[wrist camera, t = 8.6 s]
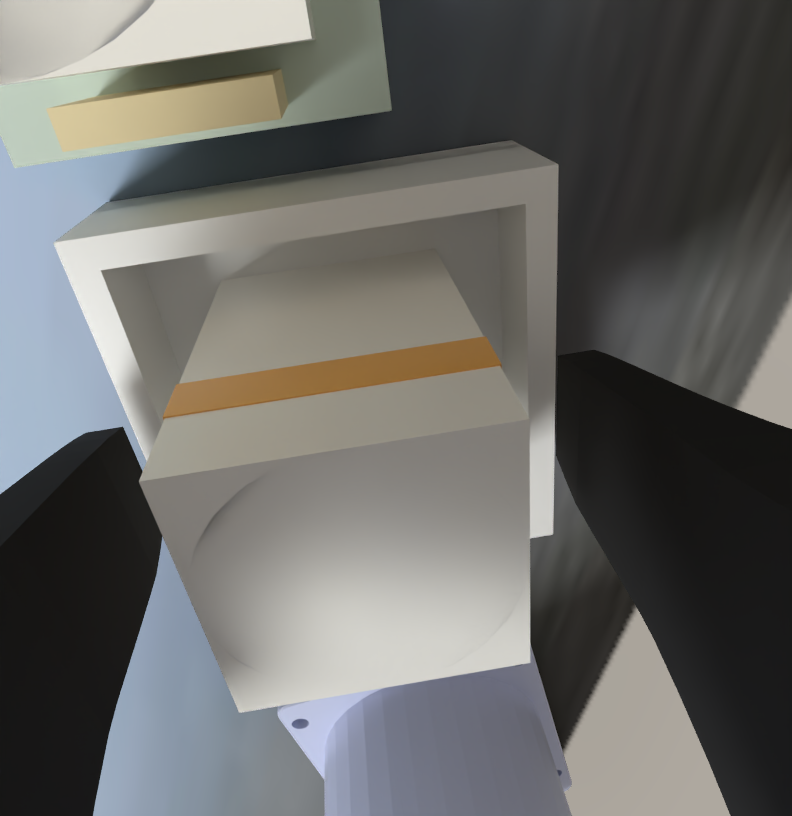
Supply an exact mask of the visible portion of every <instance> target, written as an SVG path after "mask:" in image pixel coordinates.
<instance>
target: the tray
mask: <svg viewBox="0 0 792 816" xmlns="http://www.w3.org/2000/svg"><path fill="white" fill-rule="evenodd" d="M558 168H559V164H557V163H555V162H553V161H551V160H549V159H547V158H545V157H543V156H541V155H540V154H538V153H536V152H534V151H532V150H530V149H528V148H526V147H524V146H522V145H520V144H518V143H516V142H514V141H513V140H508V141H502V142H495V143H489V144H482V145H476V146H469V147H463V148H456V149H450V150H443V151H437V152H430V153H424V154H417V155H411V156H404V157H398V158H391V159H385V160H378V161H372V162H365V163H359V164H352V165H346V166H339V167H333V168H326V169H320V170H313V171H307V172H300V173H294V174H287V175H281V176H274V177H268V178H261V179H255V180H248V181H242V182H235V183H229V184H222V185H216V186H209V187H203V188H196V189H190V190H183V191H177V192H170V193H164V194H157V195H151V196H144V197H137V198H131V199H124V200H118V201H111V202H106V203H105V204H104V205H102V206H101V207H100V208H98V209H97V210H96V211H94V212H93V213H92V214H90V215H89V216H88V217H87V218H85V219H84V220H83V221H81V222H80V223H79V224H77V225H76V226H75V227H73V228H72V229H71V230H69V231H68V232H67V233H65V234H64V235H63V236H61V237H60V238H59V239H57V240H56V241H55V242H54V246H55V248H56V250H57V253H58V255H59V257H60V260H61V262H62V264H63V267H64V269H65V271H66V274H67V276H68V278H69V281H70V283H71V285H72V288H73V290H74V292H75V295H76V297H77V299H78V302H79V304H80V306H81V309H82V311H83V313H84V316H85V318H86V321H87V323H88V325H89V328H90V330H91V332H92V335H93V337H94V339H95V342H96V344H97V346H98V349H99V351H100V353H101V356H102V358H103V360H104V363H105V365H106V367H107V370H108V372H109V374H110V377H111V379H112V381H113V384H114V386H115V388H116V391H117V393H118V395H119V398H120V400H121V402H122V405H123V407H124V409H125V412H126V414H127V416H128V419H129V421H130V424H131V426H132V428H133V431H134V433H135V435H136V438H137V440H138V442H139V445H140V447H141V449H142V452H143V454H144V456H145V459H146V461H147V460H148V458H149V455H150V453H151V450H152V448H153V446H154V443H155V441H156V438H157V436H158V433H159V431H160V429H161V426H162V424H163V421H164V420H163V415H164V412H165V410H166V407H167V405H168V403H169V400H170V398H171V396H172V393H173V391H174V388H175V386H176V384H179V382H180V380H181V377H182V375H183V373H184V370H185V368H186V365H187V363H188V360H189V358H190V356H191V353H192V351H193V348H194V346H195V343H196V341H197V338H198V336H199V334H200V331H201V329H202V326H203V324H204V321H205V319H206V317H207V314H208V312H209V309H210V307H211V304H212V302H213V300H214V297H215V295H216V292H217V290H218V287H219V285H220V283H221V281H223V280H229V279H236V278H242V277H249V276H256V275H262V274H269V273H276V272H282V271H289V270H296V269H302V268H309V267H315V266H322V265H329V264H335V263H342V262H349V261H355V260H362V259H369V258H375V257H382V256H389V255H395V254H402V253H408V252H415V251H422V250H428V249H436V251H437V253H438V255H439V257H440V258H441V260H442V262H443V264H444V266H445V267H446V269H447V271H448V273H449V275H450V276H451V278H452V280H453V282H454V284H455V285H456V287H457V289H458V291H459V293H460V295H461V296H462V298H463V300H464V302H465V304H466V305H467V307H468V309H469V311H470V313H471V314H472V316H473V318H474V320H475V322H476V323H477V325H478V327H479V329H480V331H481V332H482V334H483V336H486V337H487V339H488V341H489V343H490V344H491V346H492V348H493V350H494V351H495V353H496V355H497V357H498V359H499V360H500V362H501V364H502V370H503V372H504V374H505V376H506V378H507V379H508V381H509V383H510V385H511V387H512V388H513V390H514V392H515V394H516V396H517V397H518V399H519V401H520V403H521V405H522V406H523V408H524V410H525V412H526V414H527V415H528V417H529V419H530V538H535V537H541V536H547V535H553V507H554V439H555V371H556V303H557V236H558Z"/></svg>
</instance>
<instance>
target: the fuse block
mask: <svg viewBox="0 0 792 816" xmlns="http://www.w3.org/2000/svg"><path fill="white" fill-rule="evenodd" d="M310 5H311V11H312V17H313V23H314V29H315V35H316V40H312V41H305V42H298V43H291V44H285V45H278V46H271V47H264V48H258V49H251V50H244V51H237V52H231V53H224V54H217V55H210V56H204V57H197V58H190V59H183V60H177V61H170V62H163V63H156V64H150V65H143V66H136V67H129V68H123V69H116V70H109V71H102V72H96V73H89V74H82V75H75V76H69V77H62V78H55V79H48V80H41V81H34V82H27V83H20V84H13V85H6V86H0V136H1V138H2V140H3V142H4V145H5V147H6V149H7V152H8V154H9V156H10V159H11V161H12V163H13V166H14V168H17V167H24V166H31V165H37V164H44V163H50V162H57V161H64V160H70V159H77V158H83V157H90V156H97V155H103V154H110V153H116V152H123V151H130V150H136V149H143V148H149V147H156V146H163V145H169V144H176V143H182V142H189V141H195V140H202V139H209V138H215V137H222V136H228V135H235V134H242V133H248V132H255V131H261V130H268V129H275V128H281V127H288V126H294V125H301V124H308V123H314V122H321V121H327V120H334V119H341V118H347V117H354V116H360V115H367V114H374V113H380V112H387V111H392V107H391V99H390V90H389V82H388V73H387V65H386V56H385V47H384V39H383V30H382V22H381V13H380V5H379V0H310Z"/></svg>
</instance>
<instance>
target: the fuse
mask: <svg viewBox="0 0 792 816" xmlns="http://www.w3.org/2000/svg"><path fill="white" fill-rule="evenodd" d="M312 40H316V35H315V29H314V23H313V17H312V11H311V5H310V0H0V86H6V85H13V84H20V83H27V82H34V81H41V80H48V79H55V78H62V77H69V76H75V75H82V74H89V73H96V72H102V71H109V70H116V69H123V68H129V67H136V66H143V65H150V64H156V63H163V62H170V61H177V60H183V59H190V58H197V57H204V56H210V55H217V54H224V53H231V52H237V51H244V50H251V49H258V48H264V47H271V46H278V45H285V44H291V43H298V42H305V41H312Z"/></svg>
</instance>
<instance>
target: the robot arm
mask: <svg viewBox="0 0 792 816" xmlns="http://www.w3.org/2000/svg"><path fill="white" fill-rule="evenodd" d="M556 456H557V459H558V461H559V464H560V467H561V469H562V472H563V474H564V477H565V479H566V482H567V484H568V486H569V489H570V491H571V493H572V496H573V498H574V500H575V503H576V505H577V507H578V508H579V510H580V512H581V514H582V515H583V517H584V519H585V521H586V522H587V524H588V526H589V527H590V529H591V531H592V533H593V534H594V536H595V538H596V539H597V541H598V543H599V545H600V546H601V548H602V550H603V551H604V553H605V555H606V556H607V558H608V560H609V561H610V563H611V565H612V566H613V568H614V570H615V571H616V573H617V575H618V577H619V578H620V580H621V582H622V583H623V585H624V587H625V588H626V590H627V592H628V593H629V595H630V597H631V598H632V600H633V602H634V603H635V605H636V607H637V609H638V610H639V612H640V614H641V615H642V617H643V619H644V621H645V623H646V625H647V627H648V629H649V630H650V632H651V634H652V636H653V638H654V640H655V642H656V644H657V647H658V649H659V651H660V653H661V655H662V658H663V660H664V662H665V664H666V666H667V668H668V671H669V673H670V675H671V677H672V679H673V682H674V683H675V686H676V688H677V690H678V692H679V694H680V697H681V699H682V701H683V704H684V706H685V708H686V711H687V713H688V715H689V717H690V720H691V722H692V724H693V726H694V729H695V731H696V734H697V736H698V738H699V741H700V743H701V745H702V747H703V750H704V752H705V754H706V757H707V759H708V761H709V764H710V766H711V769H712V771H713V773H714V776H715V778H716V781H717V783H718V786H719V788H720V791H721V793H722V795H723V798H724V800H725V803H726V805H727V808H728V810H729V813H730V815H731V816H792V429H790V428H786V427H784V426H781V425H777V424H775V423H772V422H769V421H766V420H764V419H761V418H758V417H756V416H753V415H750V414H748V413H745V412H742V411H740V410H737V409H734V408H732V407H729V406H726V405H724V404H722V403H719V402H717V401H714V400H712V399H709V398H707V397H704V396H702V395H700V394H697V393H695V392H692V391H690V390H688V389H686V388H683V387H681V386H679V385H676V384H674V383H672V382H670V381H667V380H665V379H663V378H661V377H658V376H656V375H654V374H652V373H649V372H647V371H645V370H643V369H640V368H638V367H636V366H634V365H631V364H629V363H627V362H625V361H622V360H620V359H618V358H615V357H613V356H610V355H608V354H605V353H602V352H599V351H596V350H591V351H584V352H578V353H572V354H566V355H560V356H558V376H557V436H556ZM141 475H142V469H141V467H140V465H139V462H138V460H137V458H136V456H135V453H134V451H133V449H132V446H131V444H130V442H129V440H128V437H127V435H126V433H125V430H124V428H123V427H119V428H113V429H107V430H101V431H94V432H88V433H85V434H83V435H81V436H80V437H78V438H76V439H74V440H73V441H71V442H70V443H68V444H67V445H66V446H64V447H63V448H61V449H60V450H58V451H57V452H56V453H54V454H53V455H52V456H50V457H49V458H47V459H46V460H45V461H44V462H42V463H41V464H40V465H38V466H37V467H36V468H34V469H33V470H32V471H30V472H29V473H28V474H26V475H25V476H24V477H22V478H21V479H20V480H19V481H17V482H16V483H15V484H13V485H12V486H11V487H9V488H8V489H7V490H5V491H4V492H3V493H2V494H0V816H93V811H94V805H95V800H96V795H97V790H98V785H99V780H100V775H101V770H102V765H103V760H104V755H105V750H106V745H107V740H108V735H109V731H110V727H111V723H112V720H113V716H114V712H115V708H116V704H117V701H118V698H119V695H120V691H121V688H122V685H123V682H124V679H125V675H126V672H127V669H128V666H129V663H130V659H131V656H132V653H133V650H134V647H135V643H136V640H137V637H138V634H139V631H140V627H141V624H142V621H143V618H144V615H145V611H146V608H147V605H148V601H149V598H150V595H151V591H152V588H153V584H154V581H155V577H156V573H157V567H158V561H159V555H160V549H161V542H162V534H161V532H160V529H159V527H158V525H157V522H156V520H155V518H154V516H153V513H152V511H151V509H150V506H149V504H148V502H147V499H146V497H145V495H144V493H143V490H142V488H141V486H140V483H139V480H140V477H141ZM278 717H279V719H280V720H281V722H282V723H283V724H284V726H285V727H286V728H287V730H288V731H289V732H290V734H291V735H292V737H293V738H294V739H295V741H296V742H297V743H298V745H299V746H300V747H301V749H302V750H303V751H304V753H305V754H306V756H307V757H308V758H309V760H310V761H311V762H312V764H313V765H314V766H315V768H316V769H317V770H318V772H319V773H320V774H321V776H322V777H323V779H324V780H325V816H572V815H571V812H570V809H569V806H568V803H567V800H566V797H565V793H564V791H566V790H568V789H569V788H570V787H571V785H572V781H571V778H570V775H569V771H568V768H567V765H566V761H565V758H564V754H563V751H562V748H561V744H560V741H559V738H558V734H557V731H556V728H555V724H554V721H553V718H552V714H551V711H550V708H549V704H548V701H547V697H546V694H545V691H544V687H543V684H542V681H541V677H540V674H539V671H538V667H537V664H536V661H535V657H534V654H533V651H532V647H531V644H530V663H526V664H521V665H515V666H509V667H503V668H497V669H491V670H486V671H480V672H474V673H468V674H462V675H456V676H451V677H445V678H439V679H433V680H427V681H422V682H416V683H410V684H404V685H398V686H392V687H387V688H381V689H375V690H369V691H363V692H358V693H352V694H346V695H340V696H334V697H328V698H323V699H317V700H311V701H305V702H299V703H293V704H288V705H282V706H278Z"/></svg>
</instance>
